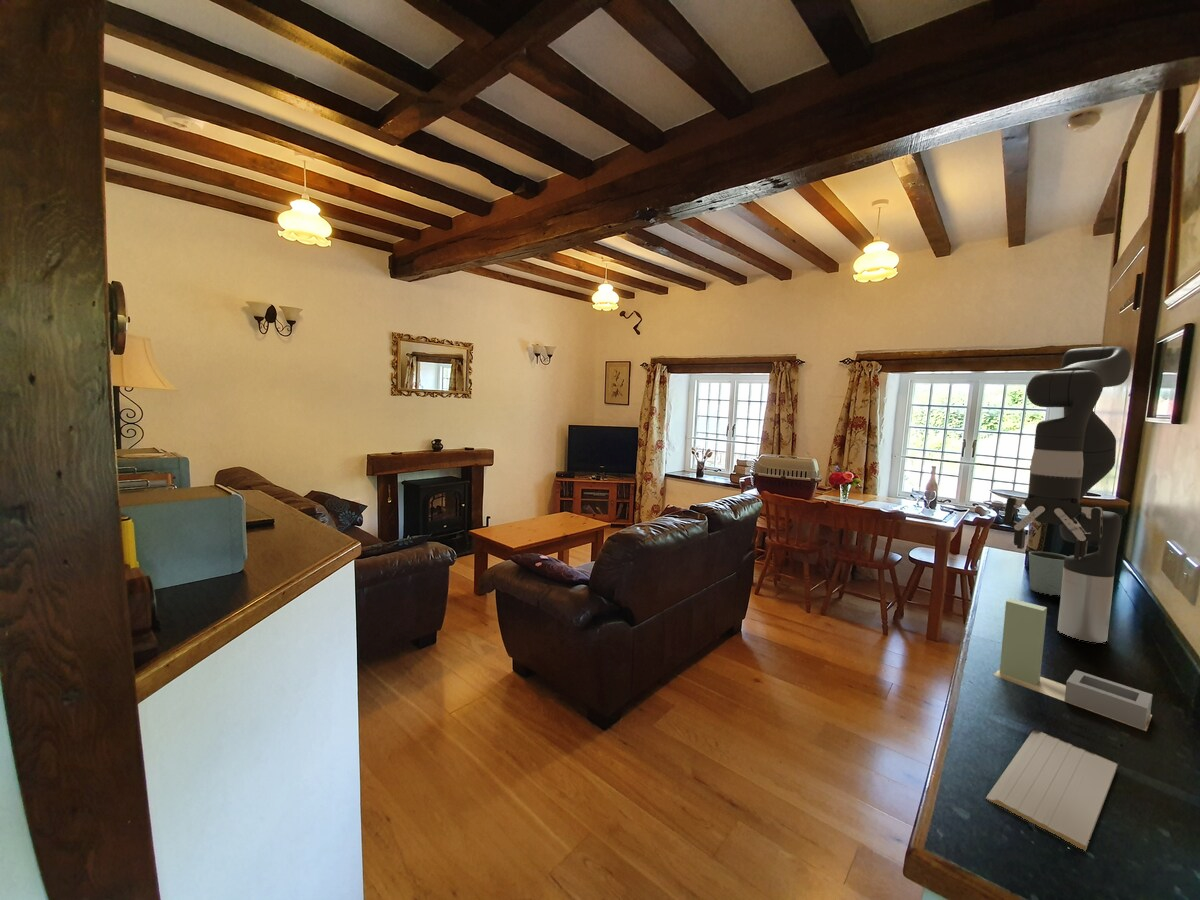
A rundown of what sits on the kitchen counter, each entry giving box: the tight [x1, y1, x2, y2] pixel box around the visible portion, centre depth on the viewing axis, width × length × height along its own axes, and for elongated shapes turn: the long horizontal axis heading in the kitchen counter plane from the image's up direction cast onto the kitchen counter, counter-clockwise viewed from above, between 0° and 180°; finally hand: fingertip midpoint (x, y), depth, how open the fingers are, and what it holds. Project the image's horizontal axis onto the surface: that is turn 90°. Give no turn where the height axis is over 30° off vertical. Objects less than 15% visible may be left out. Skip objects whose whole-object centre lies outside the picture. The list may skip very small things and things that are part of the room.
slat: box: [999, 597, 1048, 686], centre depth 103 cm, size 3×6×16 cm, turn 36°
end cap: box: [1064, 669, 1154, 731], centre depth 93 cm, size 8×10×4 cm
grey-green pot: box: [1028, 550, 1067, 597], centre depth 158 cm, size 10×10×12 cm
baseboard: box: [985, 712, 1124, 852], centre depth 77 cm, size 31×3×12 cm
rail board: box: [992, 668, 1153, 732], centre depth 97 cm, size 8×22×1 cm, turn 36°
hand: (1047, 553), depth 97 cm, fingers open, 8 cm apart
